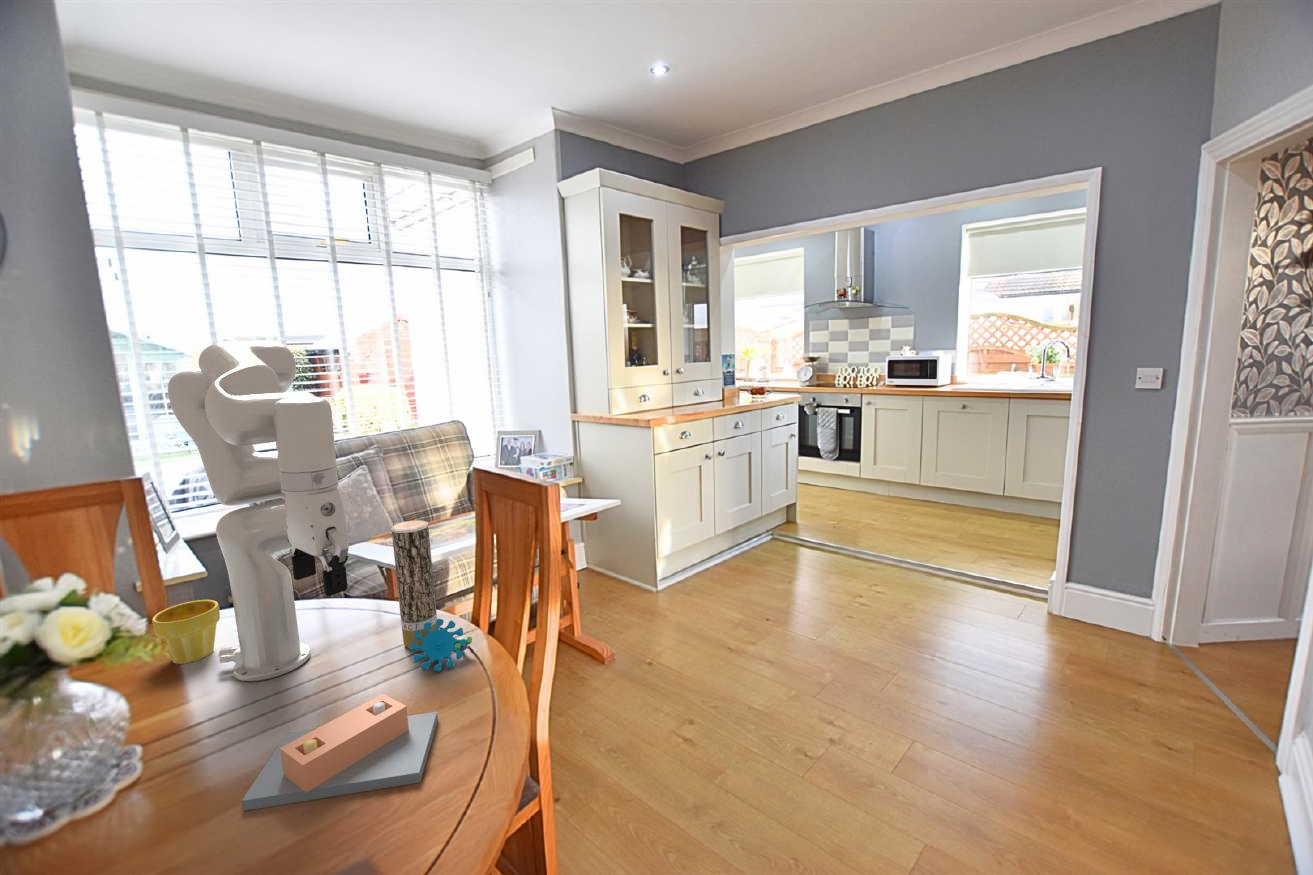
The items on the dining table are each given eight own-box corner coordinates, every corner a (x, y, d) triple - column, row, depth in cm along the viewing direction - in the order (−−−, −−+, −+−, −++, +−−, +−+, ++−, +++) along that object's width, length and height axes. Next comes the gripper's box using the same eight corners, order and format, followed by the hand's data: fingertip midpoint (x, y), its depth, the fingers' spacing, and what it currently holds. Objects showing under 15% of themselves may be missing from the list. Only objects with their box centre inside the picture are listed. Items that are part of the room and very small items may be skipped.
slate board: (243, 810, 76) (236, 769, 75) (288, 741, 89) (283, 705, 89) (420, 782, 80) (416, 742, 79) (437, 720, 94) (434, 685, 93)
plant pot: (190, 671, 111) (182, 623, 110) (145, 667, 113) (137, 620, 112) (237, 644, 121) (230, 600, 120) (196, 641, 123) (189, 598, 122)
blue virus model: (408, 671, 105) (412, 618, 111) (408, 681, 110) (412, 629, 115) (471, 667, 109) (472, 615, 115) (469, 676, 113) (470, 626, 119)
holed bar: (306, 792, 77) (302, 765, 76) (283, 774, 80) (279, 748, 80) (408, 729, 89) (406, 705, 88) (385, 716, 92) (382, 693, 92)
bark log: (426, 631, 124) (415, 518, 121) (445, 639, 120) (434, 523, 117) (397, 644, 119) (384, 527, 115) (415, 653, 115) (403, 532, 111)
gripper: (364, 482, 86) (373, 590, 89) (308, 466, 96) (318, 564, 99) (311, 494, 80) (323, 609, 83) (256, 475, 90) (269, 579, 93)
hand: (320, 584), depth 91 cm, fingers open, 9 cm apart
